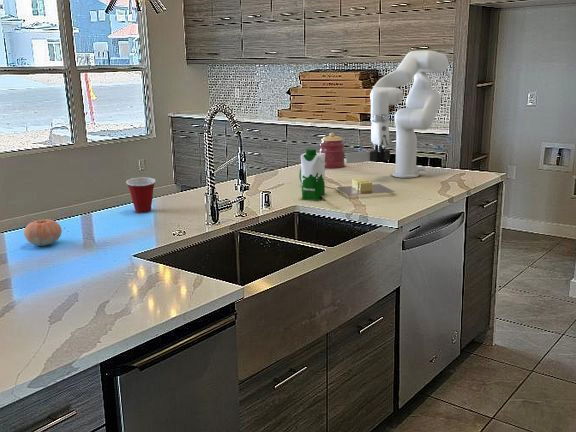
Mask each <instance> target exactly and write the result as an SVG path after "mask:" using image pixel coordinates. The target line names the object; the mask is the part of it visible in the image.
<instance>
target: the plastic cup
mask: <svg viewBox="0 0 576 432" xmlns="http://www.w3.org/2000/svg"><path fill="white" fill-rule="evenodd" d="M156 182H157V181H156V179H155V178H153V177H144V176H141V177H132V178H130V179H127V180H126V181H125V183H126V185H127V187H128V190H129V193H130V197H131V201H132V205H133V208H134V211H135V213H138V214H145V213H149V212H152V206H153V205H152V204H153V196H154V188H155V184H156Z"/></svg>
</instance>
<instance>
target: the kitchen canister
mask: <svg viewBox="0 0 576 432" xmlns="http://www.w3.org/2000/svg"><path fill="white" fill-rule="evenodd" d="M320 140H321V142H320V143H319V147H320V149H319V153H325V169H340V168H343V167H345V151H346V150H345V148H344V146H345V142H344V141H343V140H344V139H343V137H341V136H339V135H335V133H334V132H333V131H332V132H329V135H327V136H323V137H322V138H321V139H320Z"/></svg>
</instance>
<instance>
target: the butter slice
mask: <svg viewBox="0 0 576 432" xmlns="http://www.w3.org/2000/svg"><path fill="white" fill-rule="evenodd" d="M372 185H373V182H371V181H369V182H361V183H359V191H360V192H366V191H372Z"/></svg>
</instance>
